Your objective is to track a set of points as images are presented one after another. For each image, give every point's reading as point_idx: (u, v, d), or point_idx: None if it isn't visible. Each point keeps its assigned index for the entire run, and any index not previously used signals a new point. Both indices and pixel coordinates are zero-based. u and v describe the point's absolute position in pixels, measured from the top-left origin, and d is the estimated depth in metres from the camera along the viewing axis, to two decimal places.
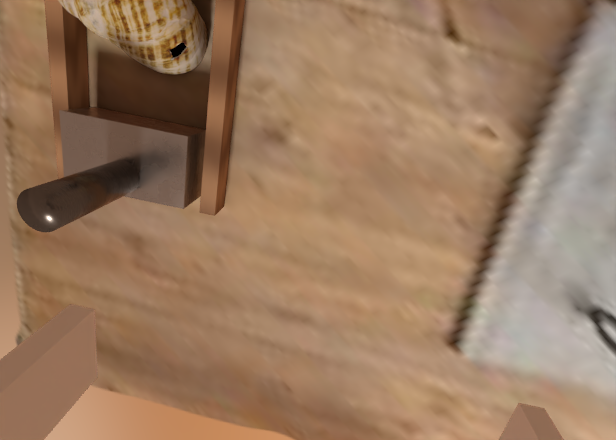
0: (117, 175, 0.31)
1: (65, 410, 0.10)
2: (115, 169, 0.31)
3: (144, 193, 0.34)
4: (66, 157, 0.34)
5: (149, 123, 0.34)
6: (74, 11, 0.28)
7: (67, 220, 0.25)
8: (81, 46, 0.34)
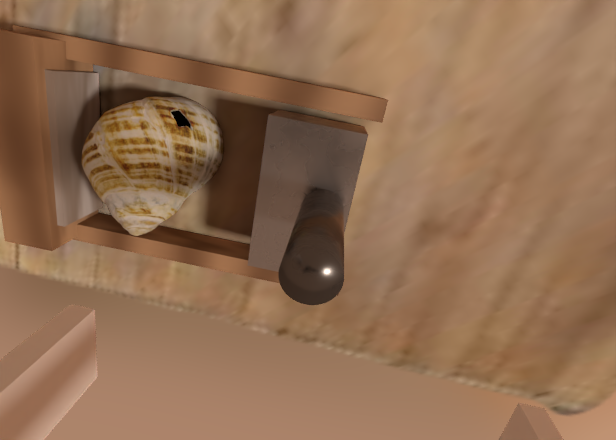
0: (307, 204, 0.23)
1: (65, 410, 0.10)
2: (302, 206, 0.24)
3: (345, 186, 0.26)
4: None
5: None
6: (148, 218, 0.27)
7: (331, 247, 0.17)
8: (200, 238, 0.33)
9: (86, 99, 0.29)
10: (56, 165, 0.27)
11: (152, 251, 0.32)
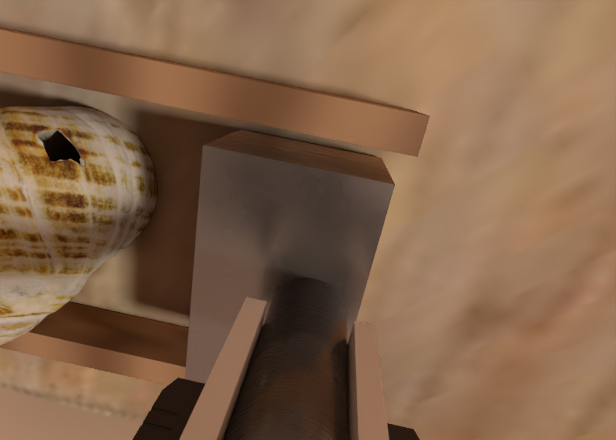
0: (274, 327, 0.12)
1: None
2: (266, 327, 0.12)
3: (350, 275, 0.14)
4: None
5: None
6: (8, 321, 0.16)
7: None
8: (125, 323, 0.22)
9: None
10: None
11: (43, 350, 0.20)
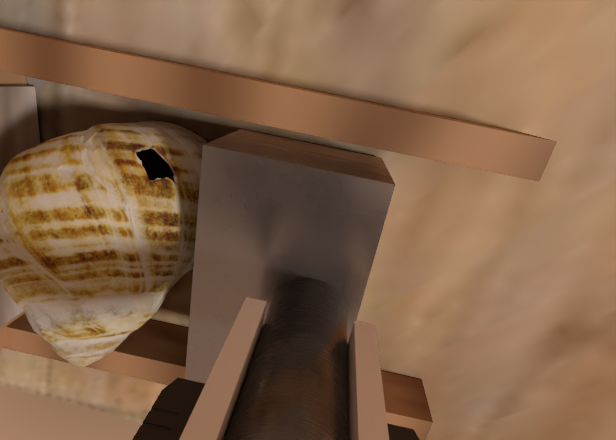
0: (274, 327, 0.12)
1: None
2: (266, 327, 0.12)
3: (350, 275, 0.14)
4: None
5: None
6: (101, 340, 0.15)
7: None
8: None
9: (10, 131, 0.17)
10: None
11: (126, 369, 0.20)
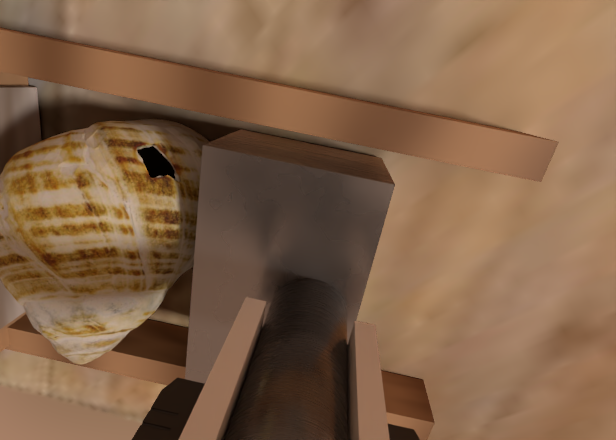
0: (274, 327, 0.12)
1: None
2: (266, 327, 0.12)
3: (350, 275, 0.14)
4: None
5: None
6: (101, 338, 0.15)
7: None
8: None
9: (11, 132, 0.17)
10: None
11: (128, 370, 0.20)
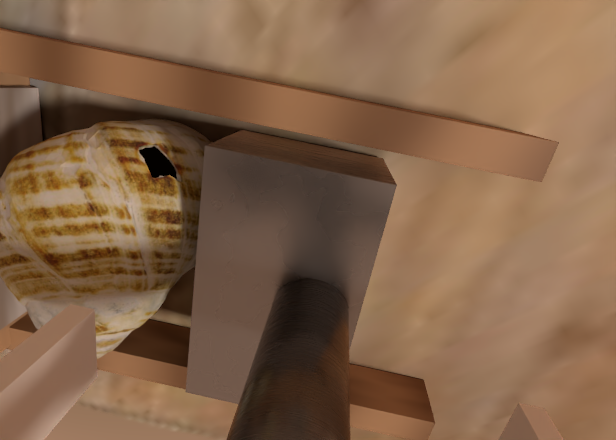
0: (276, 328, 0.12)
1: (65, 410, 0.10)
2: (268, 327, 0.12)
3: (351, 276, 0.14)
4: None
5: None
6: (103, 338, 0.15)
7: None
8: None
9: (13, 132, 0.17)
10: None
11: (129, 369, 0.20)
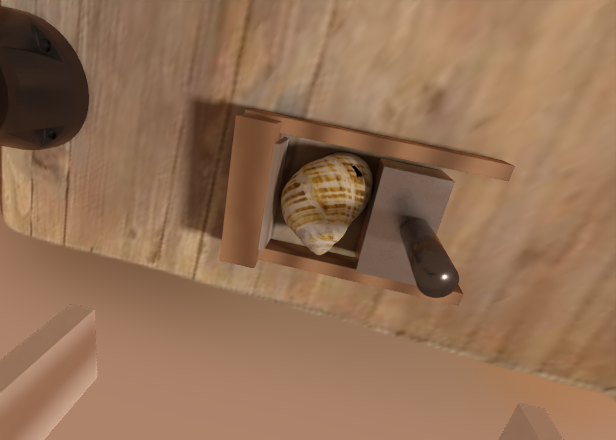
0: (413, 230, 0.34)
1: (65, 410, 0.10)
2: (408, 231, 0.34)
3: (434, 217, 0.36)
4: (395, 277, 0.39)
5: (371, 204, 0.39)
6: (330, 242, 0.38)
7: (449, 261, 0.28)
8: (348, 259, 0.44)
9: (283, 158, 0.39)
10: (267, 207, 0.38)
11: (317, 269, 0.42)
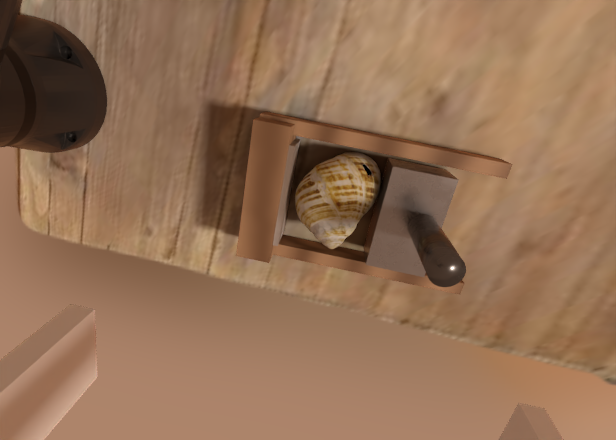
0: (421, 225, 0.37)
1: (65, 410, 0.10)
2: (416, 226, 0.37)
3: (439, 212, 0.39)
4: (402, 269, 0.42)
5: (379, 201, 0.41)
6: (342, 237, 0.40)
7: (457, 254, 0.31)
8: (356, 252, 0.46)
9: (295, 158, 0.42)
10: (282, 205, 0.40)
11: (327, 262, 0.45)
